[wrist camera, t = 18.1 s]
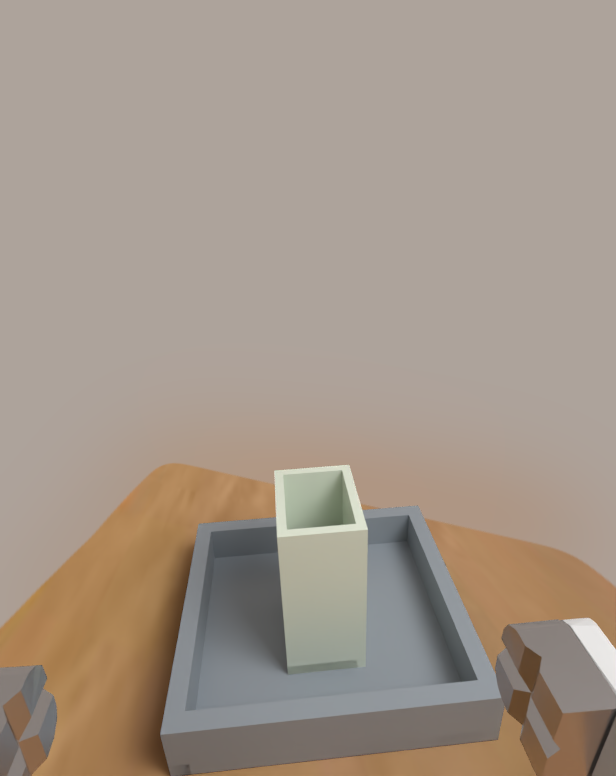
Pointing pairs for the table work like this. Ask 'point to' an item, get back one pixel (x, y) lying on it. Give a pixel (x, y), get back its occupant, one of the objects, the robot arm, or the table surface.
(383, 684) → the grey tray
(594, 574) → the table surface
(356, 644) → the small tall open container
